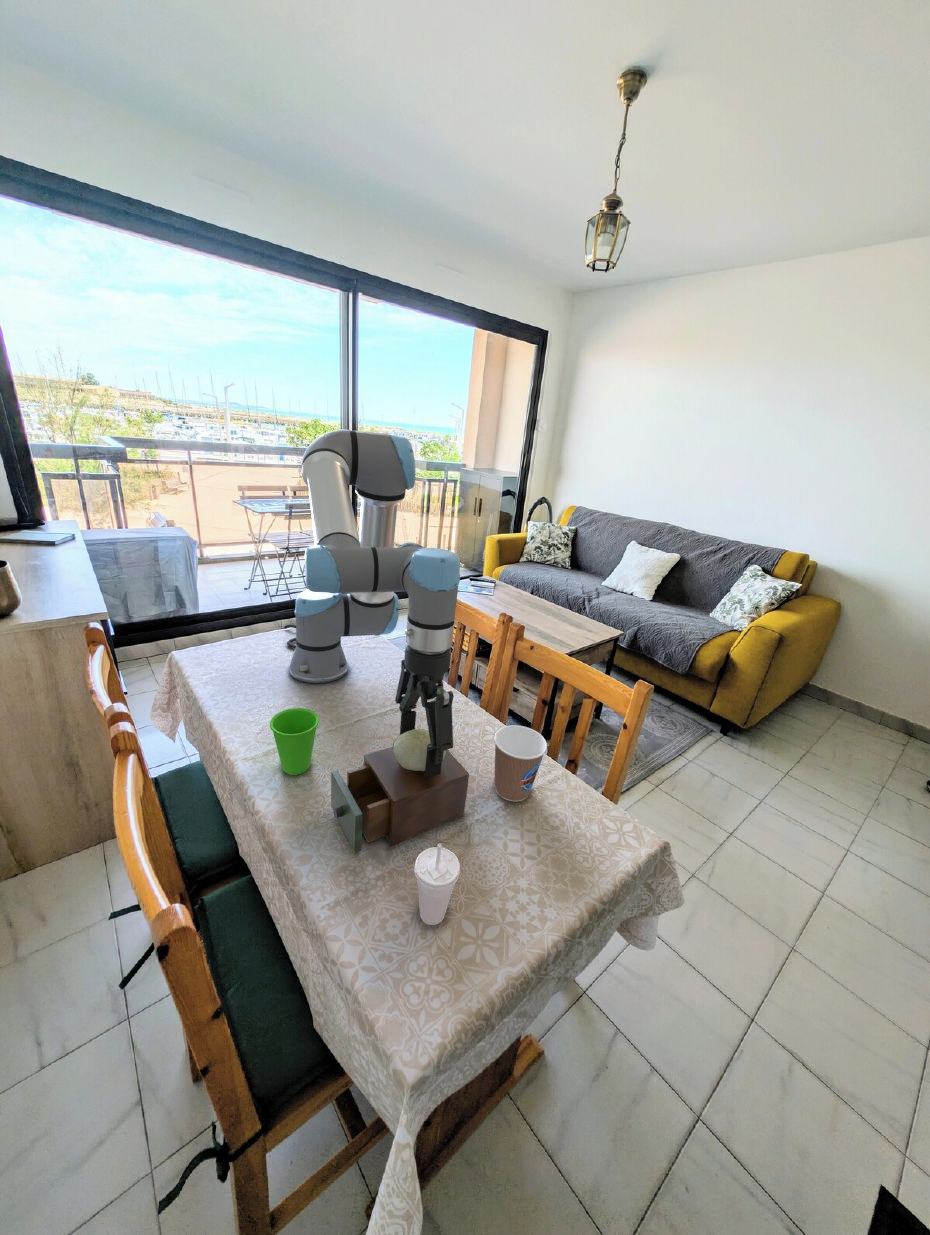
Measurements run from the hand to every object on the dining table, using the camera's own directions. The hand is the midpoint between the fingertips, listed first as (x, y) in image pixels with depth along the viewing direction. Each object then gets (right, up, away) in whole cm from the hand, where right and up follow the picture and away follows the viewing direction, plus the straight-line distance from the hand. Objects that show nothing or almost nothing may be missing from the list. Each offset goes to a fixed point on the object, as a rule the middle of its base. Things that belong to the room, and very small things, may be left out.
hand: (419, 757), depth 84 cm
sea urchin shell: (0, 0, 0) cm, 0 cm away
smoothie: (+3, -19, -15) cm, 24 cm away
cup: (-26, -5, +10) cm, 28 cm away
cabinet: (-2, -10, +4) cm, 11 cm away
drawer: (-8, -10, 0) cm, 13 cm away
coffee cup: (+18, -10, +11) cm, 23 cm away
